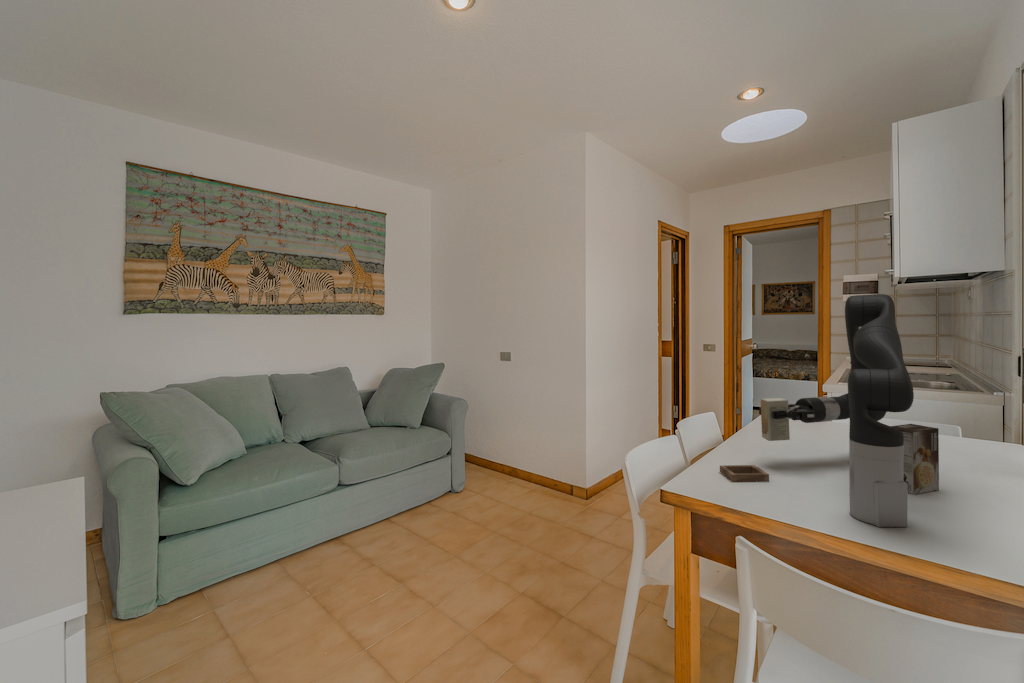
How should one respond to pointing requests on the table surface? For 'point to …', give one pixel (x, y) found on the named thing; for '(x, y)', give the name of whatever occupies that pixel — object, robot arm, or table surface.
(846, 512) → the table surface
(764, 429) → the skincare box
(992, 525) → the table surface
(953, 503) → the table surface
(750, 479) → the pocket collar
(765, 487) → the table surface
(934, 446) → the coffee box
